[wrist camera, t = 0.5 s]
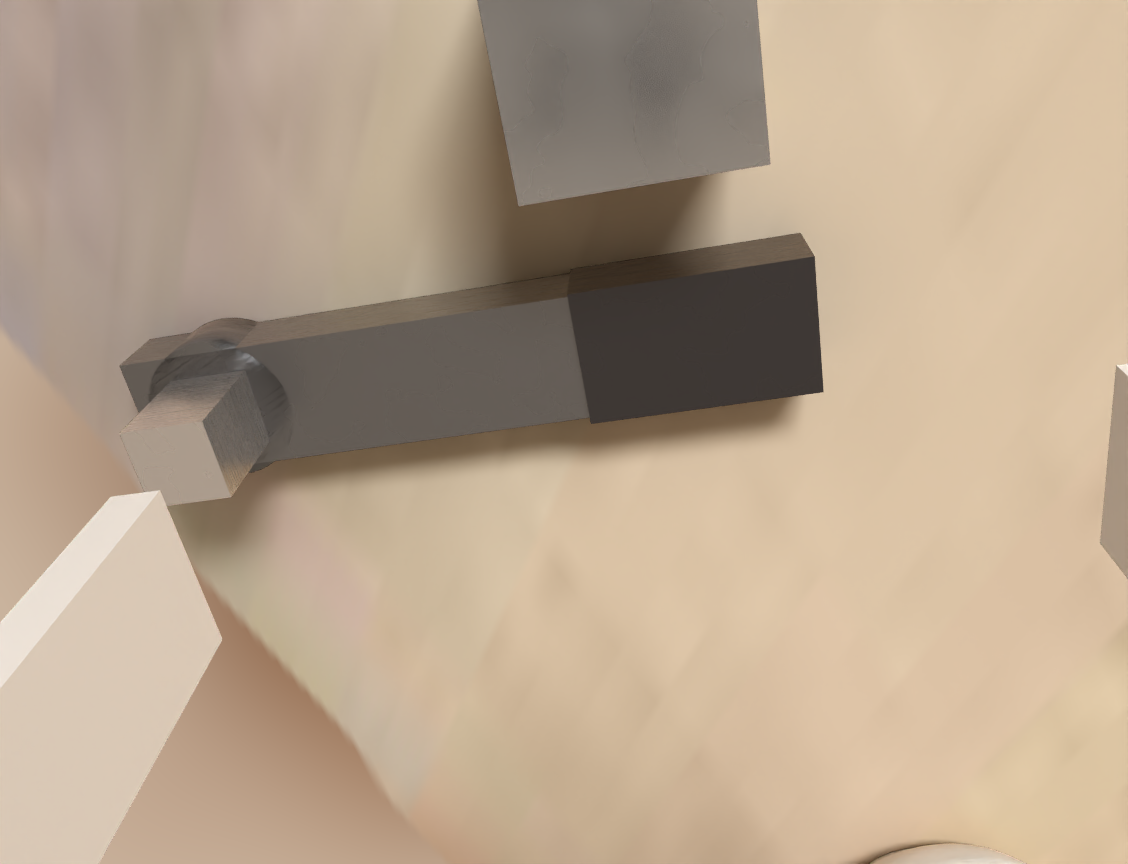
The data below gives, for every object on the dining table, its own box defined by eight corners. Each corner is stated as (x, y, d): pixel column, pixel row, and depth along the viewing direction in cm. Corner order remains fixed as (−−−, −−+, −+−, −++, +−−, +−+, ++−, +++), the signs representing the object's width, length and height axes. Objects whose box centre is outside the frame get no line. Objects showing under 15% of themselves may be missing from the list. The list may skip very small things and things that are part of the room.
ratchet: (194, 452, 39) (119, 544, 33) (146, 330, 36) (57, 406, 31) (810, 365, 36) (846, 450, 30) (800, 227, 33) (837, 289, 28)
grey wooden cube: (500, -70, 30) (463, -71, 23) (714, -114, 29) (746, -128, 22) (540, 146, 33) (518, 206, 25) (736, 111, 32) (770, 164, 25)
